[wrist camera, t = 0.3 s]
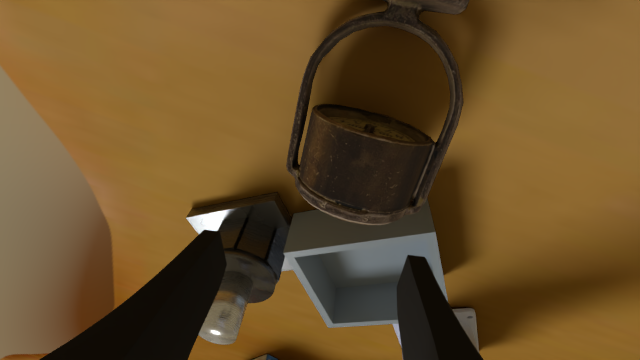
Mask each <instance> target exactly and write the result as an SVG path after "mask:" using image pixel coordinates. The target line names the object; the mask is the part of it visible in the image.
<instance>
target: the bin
mask: <svg viewBox="0 0 640 360" xmlns="http://www.w3.org/2000/svg"><path fill="white" fill-rule="evenodd" d="M412 201H414V200H412ZM283 254H284V255H285V257H286V259H287V260H288V262H289V264H290V265H291V267H292V269H293V270H294V272H295V273H296V275H297V277H298V278H299V280H300V282H301V283H302V285H303V287H304V288H305V290H306V292H307V293H308V295H309V297H310V298H311V300H312V301H313V303H314V305H315V306H316V308H317V310H318V311H319V313H320V315H321V316H322V318H323V320H324V321H325V323H326V325H327V326H328V328H332V327H349V326H365V325H382V324H398V316H397V284H398V281H399V278H400V276H401V273H402V270H403V267H404V264H405V261H406V258H407V255H414V256H422V257H425V258H426V259H427V262H428V264H429V266H430V268H431V270H432V272H433V274H434V276H435V278H436V280H437V282H438V284H439V286H440V288H441V290H442V292H443V294H444V296H445V298H446V300H447V301H448V299H447V293H446V288H445V282H444V277H443V271H442V266H441V260H440V254H439V249H438V243H437V238H436V232H435V228H434V224H433V220H432V215H431V211H430V207H429V203H428V199H426V201H425V203H424V205H423V206H422V208H421V209H420V211H419V212H417V213H414V214H410V215H404V216H403V217H402V218H400V219H399V220H397V221H394V222H391V223H388V224H384V225H363V224H356V223H351V222H347V221H342V220H340V219H337V218H335V217H332V216H330V215H328V214H326V213H324V212H322V211H320V210H319V209H317V210H311V211H306V212H300V213H294V214H293V218H292V222H291V225H290V229H289V233H288V237H287V240H286V244H285V248H284V252H283Z"/></svg>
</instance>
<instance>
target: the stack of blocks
mask: <svg viewBox="0 0 640 360" xmlns="http://www.w3.org/2000/svg"><path fill="white" fill-rule="evenodd" d="M252 360H278V359H276V358H274V357H272V356H270V355H268V354H266V355H263V356H260V357H258V358H255V359H252Z"/></svg>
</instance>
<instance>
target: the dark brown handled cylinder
mask: <svg viewBox="0 0 640 360" xmlns="http://www.w3.org/2000/svg"><path fill="white" fill-rule="evenodd" d="M383 1H385V2H387V4H388V8H387V9H386V10H385V11H384V12H378V13H372V14H367V15H364V16H361V17H358V18H354V19H351V20H349V21H347V22H346V23H344V24H343V25H341V26H339V27H338V28H336V29H335V30H333V31H332V32H331V33H330V34H329V35H328V36H327V37H326V38H325V39H324V41H323V42H322V43H321V44H320V46H319V47H318V48H317V50H316V51H315V52H314V53H313V55H312V56H311V57H310V60H309V62H308V65H307V68H306V70H305V73H304V76H303V80H302V84H301V87H300V92H299V98H298V103H297V108H296V113H295V119H294V124H293V129H292V134H291V140H290V146H289V152H288V158H287V165H286V166H287V170H288V172H289V173H290V174H291V175H292V176H293V177H294V178H295V184H296V187H297V189H298V191H299V193H300V194H301V195H302V197H303V198H304V199H305V200H306V201H307V202H308V203H309V204H311V205H312V206H314V207H315V208H317V209H319V210H320V211H322V212H324V213H326V214H328V215H330V216H332V217H335V218H337V219H340V220H342V221H347V222H351V223H356V224H363V225H384V224H388V223H391V222H394V221H397V220H399V219H400V218H402V217H403V216H404V215H410V214H414V213H417V212H419V211H420V209H421V208H422V206H423V205H424V203H425V201H426V199H427V197H428V194H429V192H430V189H431V187H432V184H433V182H434V180H435V177H436V175H437V172H438V170H439V168H440V166H441V163H442V161H443V159H444V156H445V154H446V151H447V149H448V147H449V144H450V142H451V139H452V137H453V135H454V132H455V130H456V128H457V125H458V121H459V118H460V114H461V110H462V106H463V92H462V84H461V79H460V74H459V69H458V65H457V63H456V61H455V59H454V57H453V55H452V53H451V51H450V49H449V47H448V45H447V44H446V43H445V42H444V40H443V39H442V38H441V37H440V35H439V34H438V33H437V32H436V31H435V30H434V29H432V28H431V27H429V26H428V25H426V24H424V23H423V22H421V21H420V20H419V14H420V13H422V12H423V11H432V12H440V13H448V14H460V13H461V12H462V11H464V10H465V9H466V7H467V5H468V2H469V0H383ZM377 26H391V27H395V28H400V29H403V30H405V31H407V32H410V33H412V34H415V35H417V36H419V37H420V38H421V39H423V40H424V41H426V42H427V43H428V44H429V45H430V46H431V47H432V48H433V49H434V50H435V51H436V52H437V54H438V55H439V57H440V59H441V61H442V62H443V65H444V68H445V71H446V73H447V76H448V80H449V87H450V108H449V111H448V114H447V117H446V120H445V123H444V126H443V129H442V132H441V134H440V136H439V138H438V140H437V142H436V143H435V142H434V141H433V140H432V139H431V138H430V137H429V136H427V135H426V134H424V133H423V132H422V131H420V130H418V129H416V128H415V127H413V126H411V125H409V124H407V123H404V122H401V121H399V120H396V119H394V118H391V117H389V116H386V115H382V114H377V113H371V112H368V111H364V110H361V109H356V108H351V107H346V106H340V105H334V104H321V105H317V106H315V107H314V108H313V109H312V113H311V117H310V121H309V126H308V130H307V135H306V139H305V144H304V149H303V153H302V158H301V162H300V165H298V150H299V146H300V142H301V138H302V134H303V130H304V125H305V121H306V116H307V111H308V105H309V100H310V94H311V89H312V83H313V79H314V76H315V73H316V70H317V67H318V65H319V63H320V62H321V60H322V58H323V57H324V56H325V55H326V54H327V53H328V52H329V51H330V50H331V49H332V48H333V47H334V46H335V45H336V44H337V43H338V42H339V41H340V40H342V39H343V38H345V37H347V36H348V35H350V34H352V33H353V32H355V31H358V30H362V29H365V28H368V27H377ZM412 200H414V201H412Z"/></svg>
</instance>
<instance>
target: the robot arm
mask: <svg viewBox="0 0 640 360" xmlns="http://www.w3.org/2000/svg"><path fill="white" fill-rule="evenodd" d="M226 266H227V262H226V258H225V253H224V248H223V244H222V239H221V235H220V231H212V230H203V231H202V232H201V233H200V234H199V235H198V236H197V237H196V238H195V239H194V240H193V241H192V242H191V243H190V244H189V245H188V246H187V247H186V248H185V249H184V250H183V251H182V252H181V253H180V254H179V255H178V256H176V257H175V258H174V259H173V260H172V261H171V262H170V263H169V264H168V265H167V266H166V267H165V268H164V269H162V270H161V271H160V272H159V273H158V274H157V275H156V276H155V277H154V278H152V279H151V280H150V281H149V282H148V283H147V284H145V285H144V286H143V287H142V288H141V289H140V290H138V291H137V292H136V293H135V294H134V295H132V296H131V297H130V298H129V299H127V300H126V301H125V302H124V303H122V304H121V305H120V306H118V307H117V308H116V309H114V310H113V311H112V312H110V313H109V314H108V315H106V316H105V317H104V318H102V319H101V320H100V321H98V322H97V323H95V324H94V325H92V326H91V327H89V328H88V329H87V330H85V331H84V332H82V333H81V334H79V335H78V336H76V337H75V338H73V339H72V340H70V341H69V342H67V343H66V344H64V345H62V346H61V347H59V348H57V349H56V350H54V351H53V352H51V353H49V354H48V355H46V356H44V357H43V358H41V359H40V360H188V357H189V355H190V352H191V350H192V347H193V345H194V343H195V341H196V338H197V336H198V334H199V332H200V330H201V328H202V326H203V323H204V321H205V319H206V317H207V315H208V313H209V310H210V308H211V306H212V304H213V302H214V299H215V297H216V295H217V293H218V291H219V288H220V285H221V282H222V279H223V276H224V273H225V269H226ZM397 316H398V324H393V326H394V329H395V332H396V334H397V337H398V340H399V342H400V345H401V347H402V356H403V360H483V358H482V357H481V355H480V354H479V345H478V334H477V324H476V313H475V310H474V309H472V308H461V309H452V308H451V307H450V305H449V303H448V301H447V300H446V298H445V296H444V294H443V292H442V290H441V288H440V286H439V284H438V282H437V280H436V278H435V276H434V274H433V272H432V270H431V268H430V266H429V264H428V262H427V259H426V258H425V257H422V256H414V255H407V258H406V261H405V264H404V267H403V270H402V273H401V276H400V278H399V281H398V284H397Z"/></svg>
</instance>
